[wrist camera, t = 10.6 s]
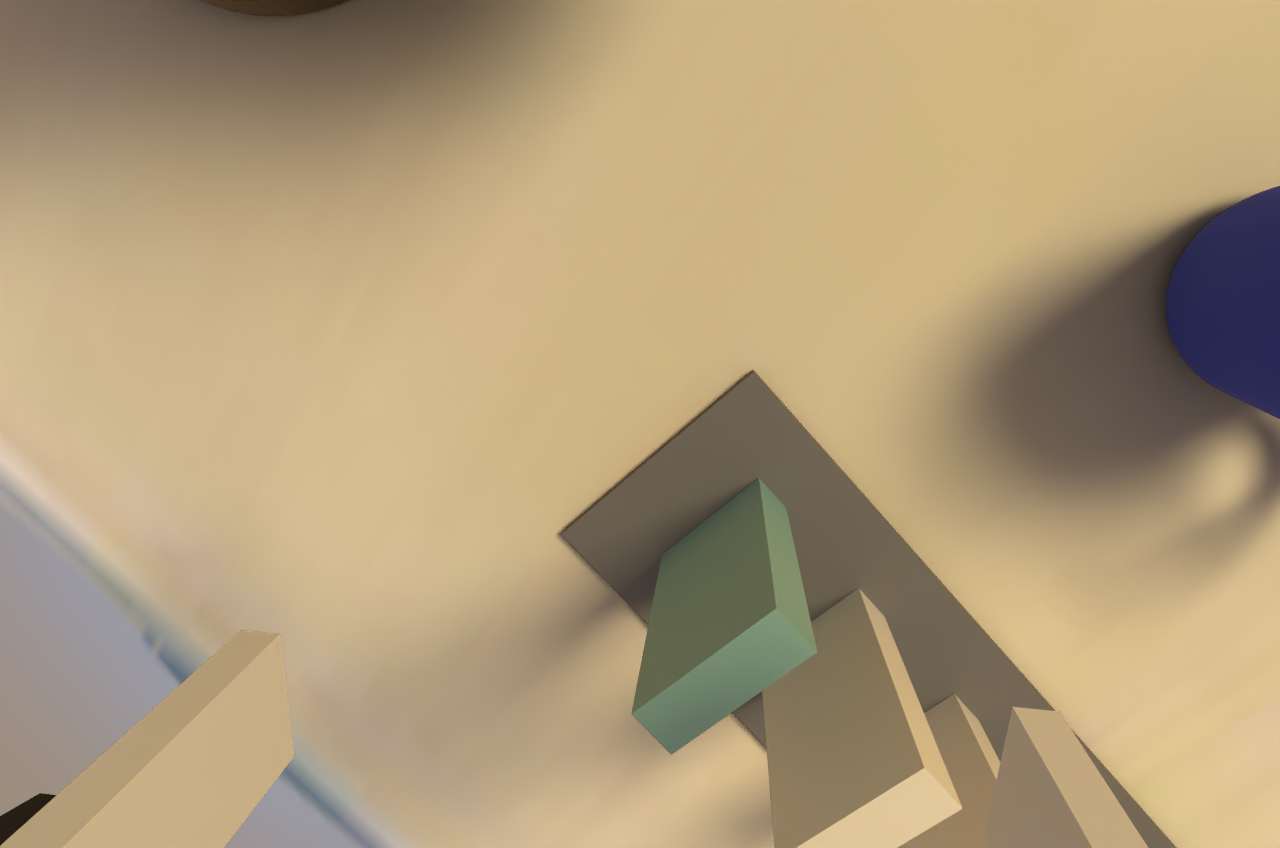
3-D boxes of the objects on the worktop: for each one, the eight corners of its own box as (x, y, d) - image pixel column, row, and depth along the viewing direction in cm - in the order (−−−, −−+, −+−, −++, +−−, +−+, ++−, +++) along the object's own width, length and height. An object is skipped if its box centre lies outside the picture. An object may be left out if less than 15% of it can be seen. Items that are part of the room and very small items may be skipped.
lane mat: (563, 530, 30) (561, 534, 30) (753, 369, 28) (753, 372, 27) (1069, 1057, 34) (1073, 1066, 34) (1275, 959, 32) (1281, 968, 31)
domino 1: (759, 658, 30) (775, 860, 21) (858, 587, 29) (924, 767, 20) (785, 685, 31) (812, 898, 21) (884, 616, 29) (962, 808, 20)
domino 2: (853, 758, 31) (911, 997, 22) (954, 693, 30) (1063, 917, 20) (878, 784, 31) (946, 1032, 22) (979, 720, 30) (1098, 955, 20)
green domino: (661, 555, 30) (631, 714, 20) (758, 477, 28) (776, 608, 19) (688, 583, 30) (671, 754, 20) (786, 508, 29) (817, 652, 19)
